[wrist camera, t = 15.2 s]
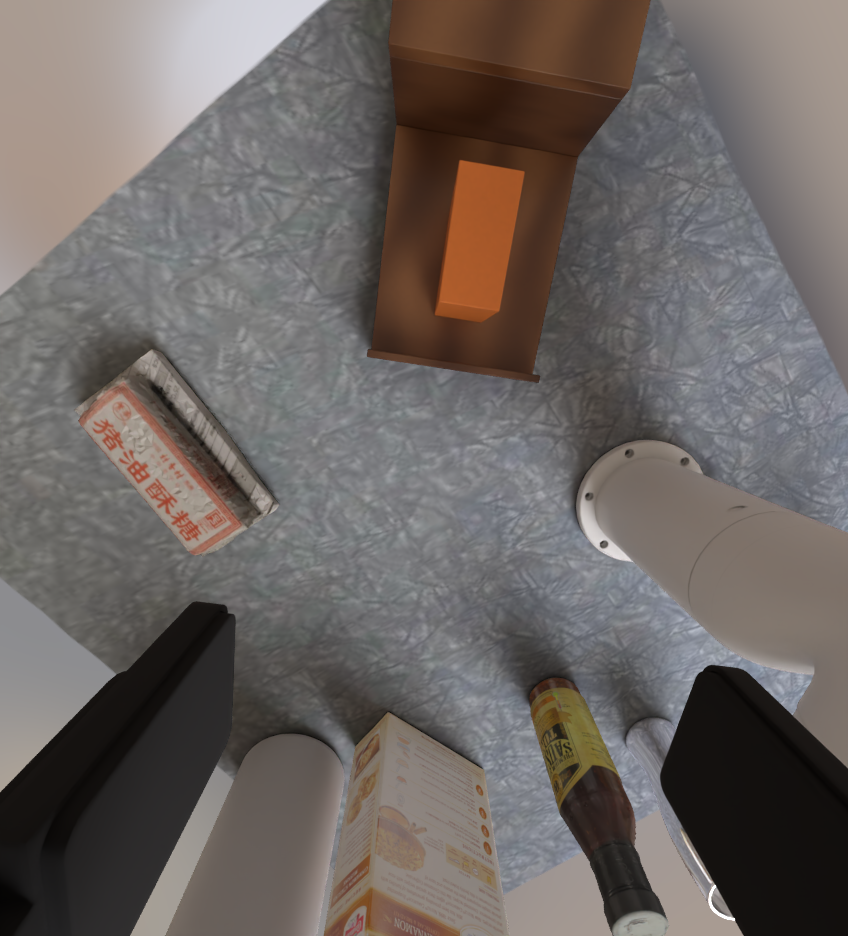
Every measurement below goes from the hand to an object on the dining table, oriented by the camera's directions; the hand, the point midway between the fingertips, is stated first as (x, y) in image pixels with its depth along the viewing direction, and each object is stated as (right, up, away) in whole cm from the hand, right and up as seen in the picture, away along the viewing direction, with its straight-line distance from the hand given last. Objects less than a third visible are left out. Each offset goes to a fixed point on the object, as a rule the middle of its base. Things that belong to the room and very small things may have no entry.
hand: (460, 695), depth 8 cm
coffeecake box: (-1, -31, +42) cm, 52 cm away
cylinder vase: (-17, -32, +42) cm, 56 cm away
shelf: (+3, +24, +27) cm, 37 cm away
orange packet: (+3, +21, +25) cm, 33 cm away
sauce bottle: (+14, -22, +40) cm, 48 cm away
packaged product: (-24, +6, +32) cm, 40 cm away
